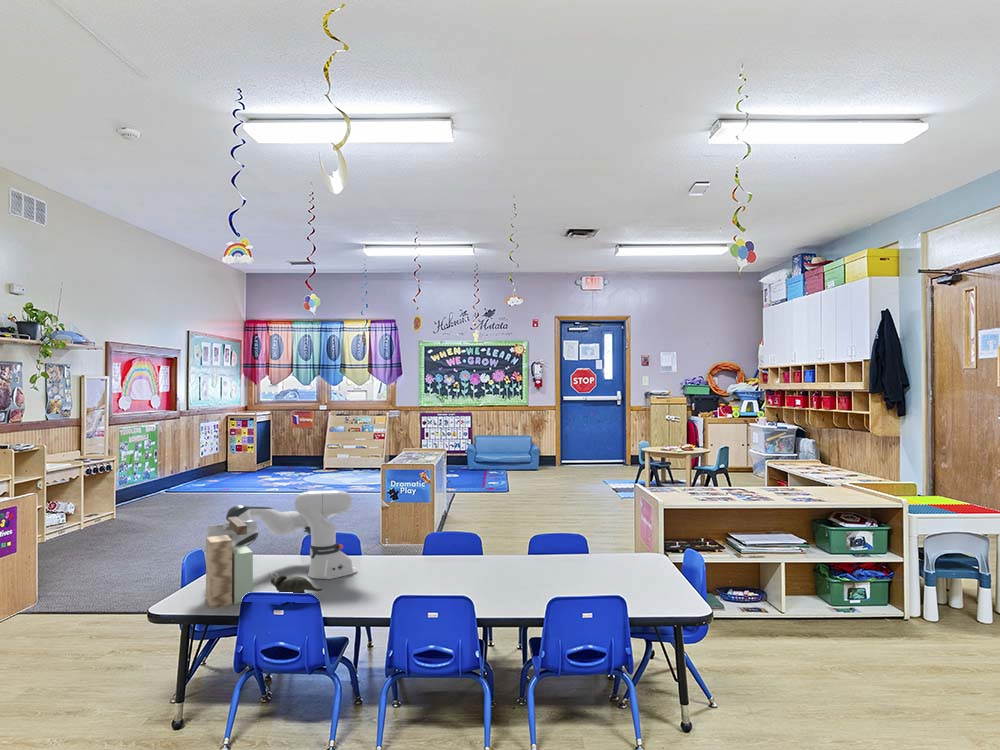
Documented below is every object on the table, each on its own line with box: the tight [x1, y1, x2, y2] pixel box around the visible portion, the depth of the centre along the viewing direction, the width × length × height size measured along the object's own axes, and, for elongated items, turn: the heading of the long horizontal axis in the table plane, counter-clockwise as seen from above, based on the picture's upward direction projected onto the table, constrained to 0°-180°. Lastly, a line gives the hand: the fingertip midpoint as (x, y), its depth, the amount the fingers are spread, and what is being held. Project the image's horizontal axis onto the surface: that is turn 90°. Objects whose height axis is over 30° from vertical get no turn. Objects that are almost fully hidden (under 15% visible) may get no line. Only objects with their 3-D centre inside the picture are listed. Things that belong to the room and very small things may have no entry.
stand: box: [205, 535, 234, 610], centre depth 263 cm, size 8×11×26 cm
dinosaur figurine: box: [268, 571, 323, 594], centre depth 264 cm, size 22×8×11 cm, turn 90°
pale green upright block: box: [232, 545, 254, 605], centre depth 269 cm, size 7×14×20 cm, turn 33°
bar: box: [227, 517, 247, 535], centre depth 272 cm, size 4×22×4 cm, turn 33°
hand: (235, 522), depth 276 cm, fingers closed on bar, 3 cm apart
